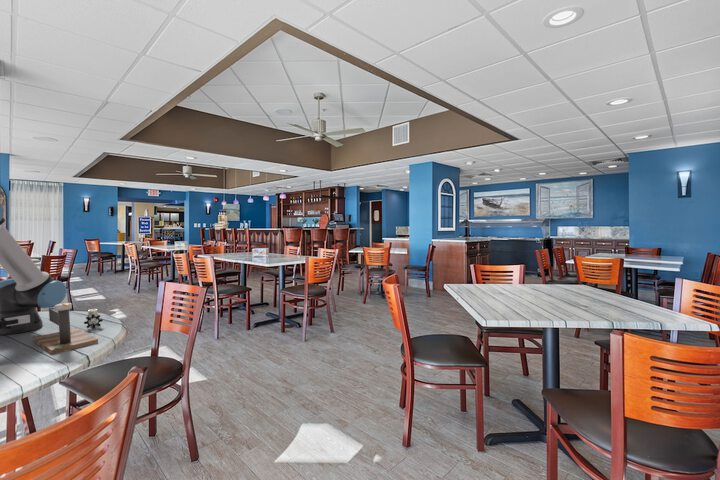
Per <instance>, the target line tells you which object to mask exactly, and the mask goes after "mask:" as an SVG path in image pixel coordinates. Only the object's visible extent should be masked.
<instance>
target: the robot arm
mask: <svg viewBox="0 0 720 480" xmlns="http://www.w3.org/2000/svg"><path fill="white" fill-rule="evenodd" d="M4 212H5V208H4V206H3V205H2V203H1V202H0V266H1V267H2V269H3V270H4V271H5V272H6V273H7V274H8V276H10V279H3V280H0V336H4V335H5V336H6V335H16V334H21V333H22V334H23V333H27V332H30V331H34V330H35V331H36V330H37V329H41V328H42V327H43V326H44V325H43V323H44V322H43V320H42V318H41V316H40V314H39V312H38V310H37V308H40V309H49V308H55V305H57V304H62V302H63V301H64V300H65V299H66V295H67V293H68V292H67V291H68V289H67V286H66V284H65V283H64V282H62V281H60V280H57V279H56V280H55V279H53V277H52V276H51V274H50V273H48V272H47V271H42V270H40V268H39V267H38V265H36V263H35V262H34V261H33V260H32V258H31V257H30V256H29V254H28V253H27V252H26V251H25V250H24V248H22V246H21V245H20V244H19V242H18V241H17V240H16V239H15V237H14V236H13V235H12V234H11V233H10V232H9V230H8V228H6V227H5V223H6V221H7V220H6V218H4V217H5V213H4Z"/></svg>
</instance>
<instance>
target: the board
mask: <svg viewBox="0 0 720 480" xmlns="http://www.w3.org/2000/svg"><path fill="white" fill-rule="evenodd" d="M70 333H71V341H70V342H68V343H60V336H59V331H56V332H54V333H52V332H51V333H48V334H43V335H38V336H34V337H32V339H33V342H34V343H35V344H37V345H38V346H39V347H41V348H42V349H44V350H45V351H46V352H47V353H49V354H51V355H55V354H58V353H63V352H67V351H71V350H75V349H79V348H83V347H86V346H87V347H88V346H91V345H95V344H98V343H99V338H97V337H96V336H94V335H91V334H89V333H88V332H86V331H83V330H81V329H80V328H78V327H77V328H72V329H71V328H70Z"/></svg>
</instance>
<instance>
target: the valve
mask: <svg viewBox="0 0 720 480" xmlns="http://www.w3.org/2000/svg"><path fill="white" fill-rule="evenodd" d="M87 312H88V313H87V316H86V318H85V319H86V320H85V321H83V324H84V325H86V328H87V329H89V328H92V330H95V329H96V326H97V327H101V326H102V325H101V323H102V322H103V320H104V319H102V318H101V315H100V314H98V309H97V308H91V309H88V311H87ZM96 323H97V324H96ZM90 324H93V325H90ZM94 328H95V329H94Z"/></svg>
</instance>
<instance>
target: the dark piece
mask: <svg viewBox="0 0 720 480" xmlns="http://www.w3.org/2000/svg"><path fill="white" fill-rule="evenodd" d="M72 304H73V303H71V302H63V303H62V302H61V303H60V304H57V305H55V307H51V308H48V316H49V317H48V318H49V321H50V322H51V323H53V324H55V325H57V326H58V332H59V336H60V343H68V342H70V341H71V333H70V330H71V322H70V319H71V318H70V310H72V308H73V307H72Z"/></svg>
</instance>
